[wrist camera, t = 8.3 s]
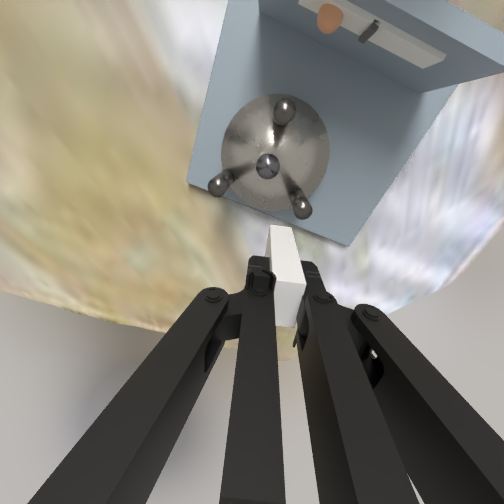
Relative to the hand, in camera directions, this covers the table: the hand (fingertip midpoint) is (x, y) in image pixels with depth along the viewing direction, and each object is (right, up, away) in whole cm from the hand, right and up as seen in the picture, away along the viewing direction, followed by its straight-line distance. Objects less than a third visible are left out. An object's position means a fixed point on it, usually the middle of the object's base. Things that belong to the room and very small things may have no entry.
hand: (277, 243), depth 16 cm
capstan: (+1, +11, +11) cm, 15 cm away
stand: (+4, +13, +11) cm, 18 cm away
